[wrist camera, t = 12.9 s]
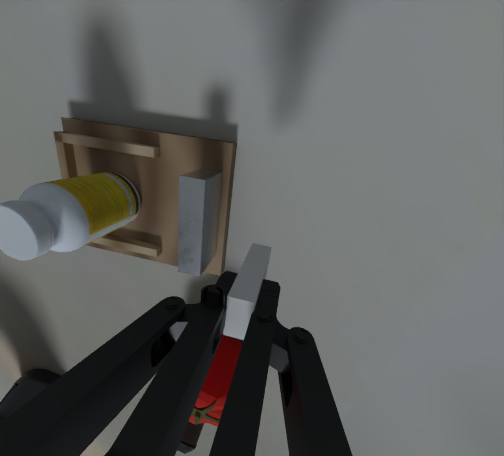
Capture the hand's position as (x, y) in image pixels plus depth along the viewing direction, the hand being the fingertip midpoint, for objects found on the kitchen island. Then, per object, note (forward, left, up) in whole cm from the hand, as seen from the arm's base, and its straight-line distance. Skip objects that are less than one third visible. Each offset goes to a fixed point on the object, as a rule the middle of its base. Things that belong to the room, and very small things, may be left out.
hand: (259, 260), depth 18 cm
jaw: (-7, 0, -8) cm, 11 cm away
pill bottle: (-19, 0, -9) cm, 21 cm away
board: (-15, 0, -10) cm, 18 cm away
